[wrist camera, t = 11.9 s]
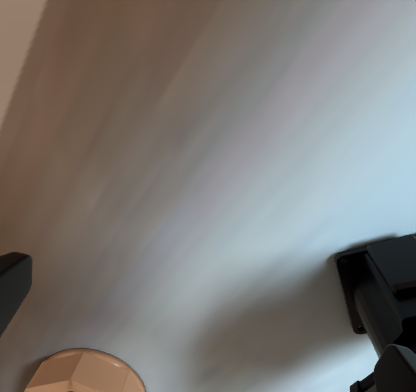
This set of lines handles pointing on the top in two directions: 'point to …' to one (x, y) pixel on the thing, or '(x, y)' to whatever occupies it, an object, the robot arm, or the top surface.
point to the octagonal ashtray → (84, 373)
